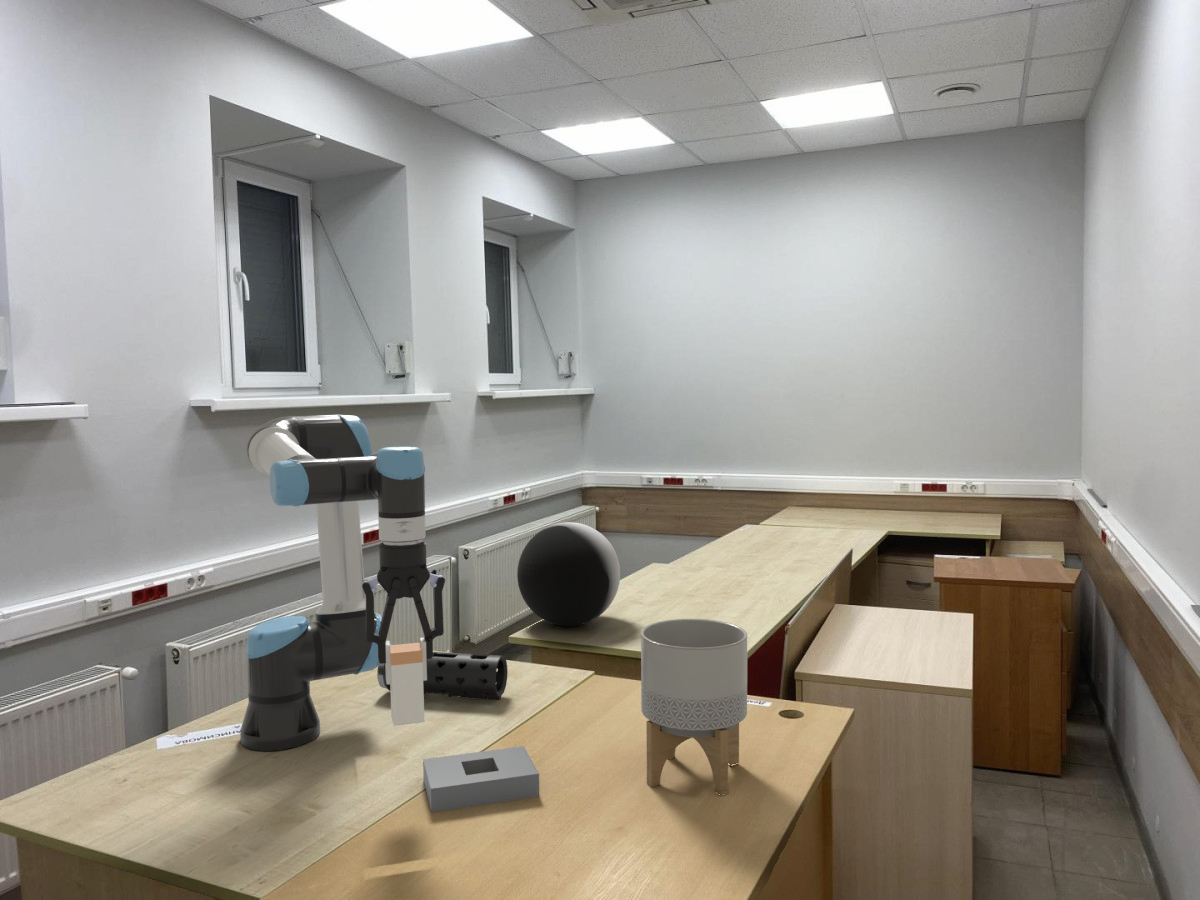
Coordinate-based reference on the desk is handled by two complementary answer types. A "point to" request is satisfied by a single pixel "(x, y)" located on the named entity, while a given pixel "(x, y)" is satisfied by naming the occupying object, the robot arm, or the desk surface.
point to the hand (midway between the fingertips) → (406, 679)
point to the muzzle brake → (461, 675)
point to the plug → (407, 684)
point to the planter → (693, 692)
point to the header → (479, 778)
